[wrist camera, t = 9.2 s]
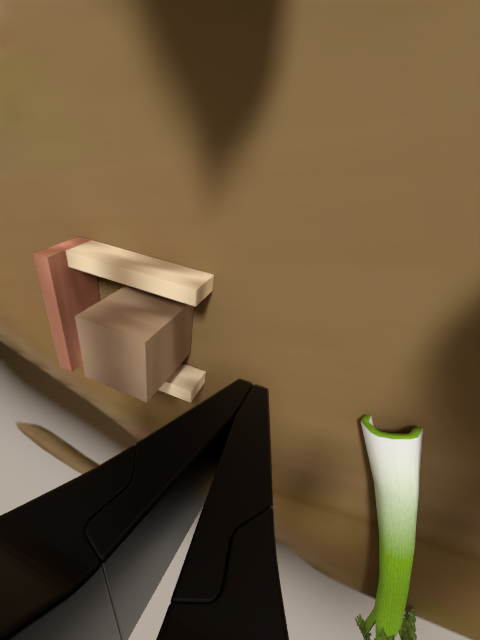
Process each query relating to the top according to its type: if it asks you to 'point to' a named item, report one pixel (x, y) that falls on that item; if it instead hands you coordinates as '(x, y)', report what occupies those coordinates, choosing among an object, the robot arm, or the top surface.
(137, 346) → the block
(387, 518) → the leek
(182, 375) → the channel
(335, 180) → the top surface
